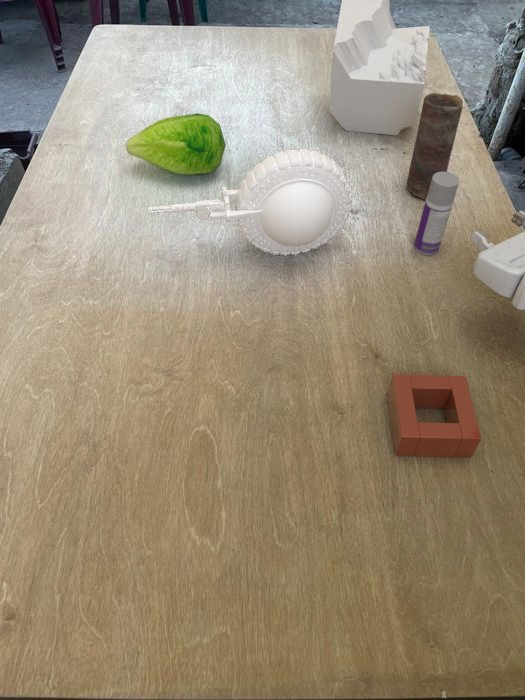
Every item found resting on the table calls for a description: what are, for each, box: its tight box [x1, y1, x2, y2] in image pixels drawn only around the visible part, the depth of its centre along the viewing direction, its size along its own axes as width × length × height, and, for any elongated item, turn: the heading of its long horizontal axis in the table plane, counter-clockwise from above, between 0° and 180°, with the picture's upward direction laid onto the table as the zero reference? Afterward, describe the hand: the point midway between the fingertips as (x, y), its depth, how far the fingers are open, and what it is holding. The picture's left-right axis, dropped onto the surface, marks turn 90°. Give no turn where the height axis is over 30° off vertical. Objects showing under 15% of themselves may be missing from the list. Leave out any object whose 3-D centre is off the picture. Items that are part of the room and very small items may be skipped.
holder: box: [386, 373, 482, 458], centre depth 90 cm, size 11×11×5 cm
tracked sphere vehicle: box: [147, 148, 353, 257], centre depth 108 cm, size 35×14×20 cm, turn 100°
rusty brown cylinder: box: [406, 92, 464, 201], centre depth 121 cm, size 8×7×20 cm
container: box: [413, 171, 460, 256], centre depth 112 cm, size 5×5×15 cm
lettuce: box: [125, 112, 226, 176], centre depth 128 cm, size 14×20×12 cm
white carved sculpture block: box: [328, 0, 431, 136], centre depth 137 cm, size 20×16×25 cm
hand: (495, 224), depth 101 cm, fingers open, 8 cm apart
